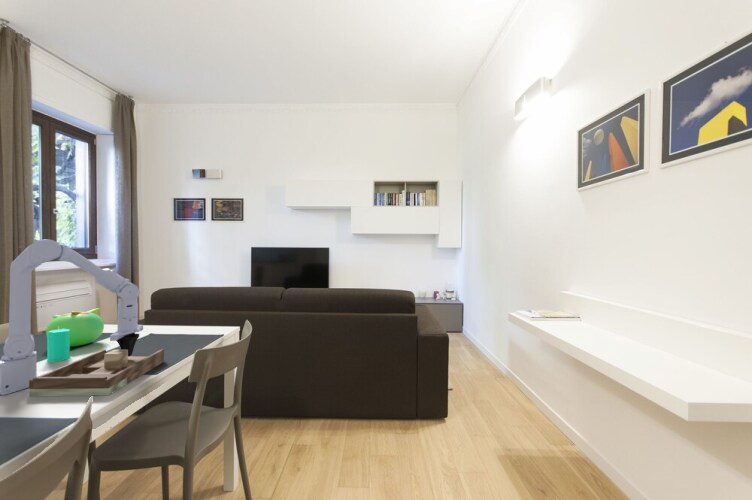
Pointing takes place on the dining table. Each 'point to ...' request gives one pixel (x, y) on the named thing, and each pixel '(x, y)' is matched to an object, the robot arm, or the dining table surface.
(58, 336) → the candle
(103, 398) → the dining table surface
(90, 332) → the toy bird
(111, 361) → the beech block
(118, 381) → the box
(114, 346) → the dining table surface
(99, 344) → the dining table surface
